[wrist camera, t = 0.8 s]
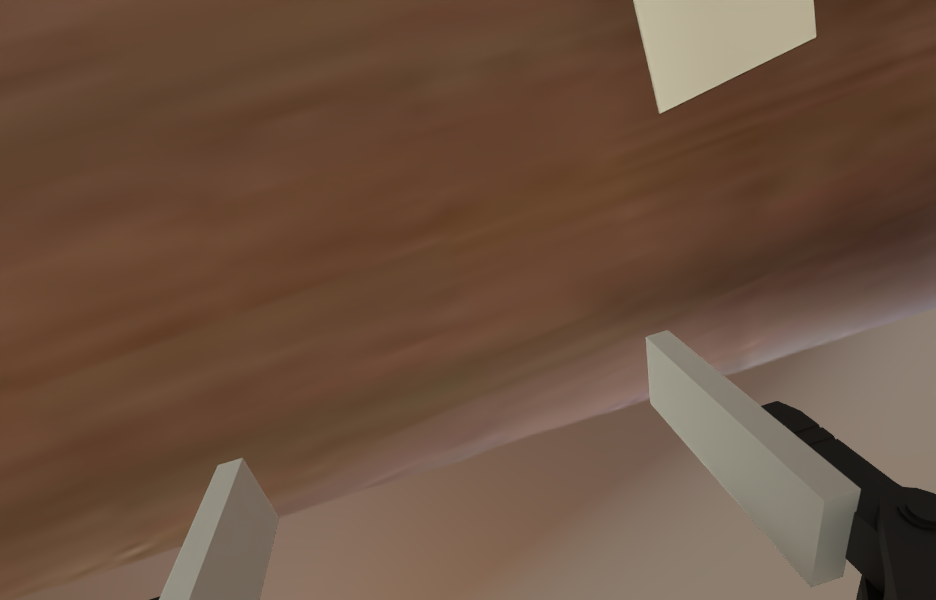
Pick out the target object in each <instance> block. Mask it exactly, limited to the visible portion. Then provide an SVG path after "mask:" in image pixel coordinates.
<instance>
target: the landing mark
mask: <svg viewBox="0 0 936 600" xmlns="http://www.w3.org/2000/svg"><path fill="white" fill-rule="evenodd" d="M633 2H634V6H635V11H636V15H637V19H638V24H639V28H640V32H641V37H642V41H643V45H644V50H645V54H646V58H647V63H648V67H649V71H650V76H651V80H652V84H653V89H654V93H655V97H656V102H657V106H658V110H659V113H660V114H661V113H663V112H665V111H667V110H669V109H671V108H673V107H675V106H677V105H679V104H681V103H683V102H685V101H687V100H689V99H691V98H693V97H695V96H697V95H699V94H701V93H703V92H705V91H707V90H709V89H712V88H714V87H716V86H718V85H720V84H722V83H724V82H726V81H728V80H730V79H732V78H734V77H736V76H738V75H740V74H742V73H744V72H746V71H748V70H750V69H752V68H754V67H756V66H758V65H760V64H763V63H765V62H767V61H769V60H771V59H773V58H775V57H777V56H779V55H781V54H783V53H785V52H787V51H789V50H791V49H793V48H795V47H797V46H799V45H801V44H803V43H805V42H807V41H809V40H811V39H814V38H816V26H815V13H814V0H633Z"/></svg>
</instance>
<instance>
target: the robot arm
mask: <svg viewBox="0 0 936 600" xmlns="http://www.w3.org/2000/svg"><path fill="white" fill-rule="evenodd" d="M646 348H647V362H648V377H649V391H650V403H651V404H652V406H653V407H654V408H655V409H656V410H657V411H658V413H659V414H660V415H661V416H662V417H663V418H664V419H665V421H666V422H667V423H668V424H669V425H670V426H671V427H672V429H673V430H674V431H675V432H676V433H677V434H678V436H680V438H681V439H682V440H683V441H684V442H685V444H686V445H687V446H688V447H689V448H690V449H691V450H692V452H693V453H694V454H695V455H696V456H697V457H698V458H699V460H700V461H701V462H702V463H703V464H704V465H705V467H706V468H707V469H708V470H709V471H710V472H711V473H712V475H714V477H715V478H716V479H717V480H718V481H719V482H720V484H721V485H722V486H723V487H724V488H725V490H726V491H727V492H728V493H729V494H730V495H731V496H732V497H733V499H734V500H735V501H736V502H737V503H738V504H739V506H740V507H741V508H742V509H743V510H744V511H745V512H746V514H747V515H748V516H749V517H750V518H751V519H752V521H753V522H754V523H755V524H756V525H757V526H758V527H759V529H760V530H761V531H762V532H763V533H764V534H765V535H766V537H767V538H768V539H769V540H770V541H771V542H772V543H773V545H774V546H775V547H776V548H777V549H778V550H779V552H780V553H781V554H782V555H783V556H784V557H785V558H786V559H787V561H788V562H789V563H790V564H791V565H792V566H793V568H794V569H795V570H796V571H797V572H798V573H799V575H800V576H801V577H802V578H803V579H804V580H805V581H806V583H807V584H808V585H809V586H810V587H814V586H816V585H819V584H822V583H825V582H828V581H831V580H834V579H837V578H840V577H843V573H844V568H845V564H846V559H847V560H848V561H849V562H850V563H851V564H852V565H853V566H855V568H856V569H857V570H858V571H859V572H860V573H861V574H862V577H861V581H860V585H859V589H858V593H857V599H856V600H936V494H934V493H931V492H928V491H925V490H921V489H918V488H909V487H902V486H900V485H899V484H897V483H896V482H894V481H893V480H891V479H890V478H889V477H887V476H886V475H885V474H883V473H882V472H881V471H879V470H878V469H877V468H875V467H874V466H873V465H872V464H870V463H869V462H868V461H866V460H865V459H864V458H862V457H861V456H860V455H858V454H857V453H856V452H854V451H853V450H852V449H850V448H849V447H848V446H846V445H845V444H844V443H842V442H841V441H840V440H838V439H835V438H834V436H833V435H832V434H831V433H829V432H828V431H827V430H825V429H824V428H820V427H819V425H818V424H817V423H816V422H815V421H813V420H812V419H811V418H809V417H808V416H807V415H805V414H804V413H803V412H801V411H800V410H797V409H795V408H793V407H790V406H788V405H786V404H783V403H781V402H779V401H776V402H772V403H769V404H766V405H763V406H760V405H758V404H757V403H756V402H755V401H753V400H752V399H751V398H750V397H749V396H747V395H746V394H745V393H744V392H742V391H741V390H740V389H739V388H738V387H736V386H735V385H734V384H733V383H732V382H730V381H729V380H728V379H727V378H726V377H724V376H723V375H722V374H721V373H720V372H718V371H717V370H716V369H715V368H713V367H712V366H711V365H710V364H709V363H707V362H706V361H705V360H704V359H703V358H701V357H700V356H699V355H698V354H696V353H695V352H694V351H693V350H692V349H690V348H689V347H688V346H687V345H685V344H684V343H683V342H682V341H681V340H679V339H678V338H677V337H676V336H675V335H673V334H672V333H671V332H670V331H668V330H667V331H663V332H660V333H657V334H653V335H650V336H647V337H646ZM278 521H279V517H278V515H277V514H276V512H275V510H274V509H273V507H272V505H271V504H270V502H269V501H268V499H267V497H266V496H265V494H264V492H263V491H262V489H261V487H260V486H259V484H258V482H257V481H256V479H255V477H254V476H253V474H252V472H251V471H250V469H249V467H248V466H247V464H246V463H245V461H244V459H243V458H241V459H237V460H234V461H231V462H227V463H224V464H221V465H218V466H217V468H216V471H215V473H214V475H213V478H212V480H211V482H210V484H209V487H208V489H207V491H206V493H205V496H204V498H203V500H202V503H201V505H200V507H199V509H198V512H197V514H196V516H195V519H194V521H193V523H192V525H191V528H190V530H189V532H188V535H187V537H186V539H185V541H184V544H183V546H182V548H181V551H180V553H179V555H178V557H177V560H176V562H175V564H174V567H173V569H172V571H171V574H170V576H169V578H168V580H167V583H166V585H165V587H164V589H163V592H162V594H161V596H160V597H157V598H154V599H151V600H260V596H261V592H262V588H263V584H264V579H265V575H266V570H267V566H268V563H269V558H270V554H271V550H272V546H273V542H274V538H275V534H276V529H277V525H278Z"/></svg>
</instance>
